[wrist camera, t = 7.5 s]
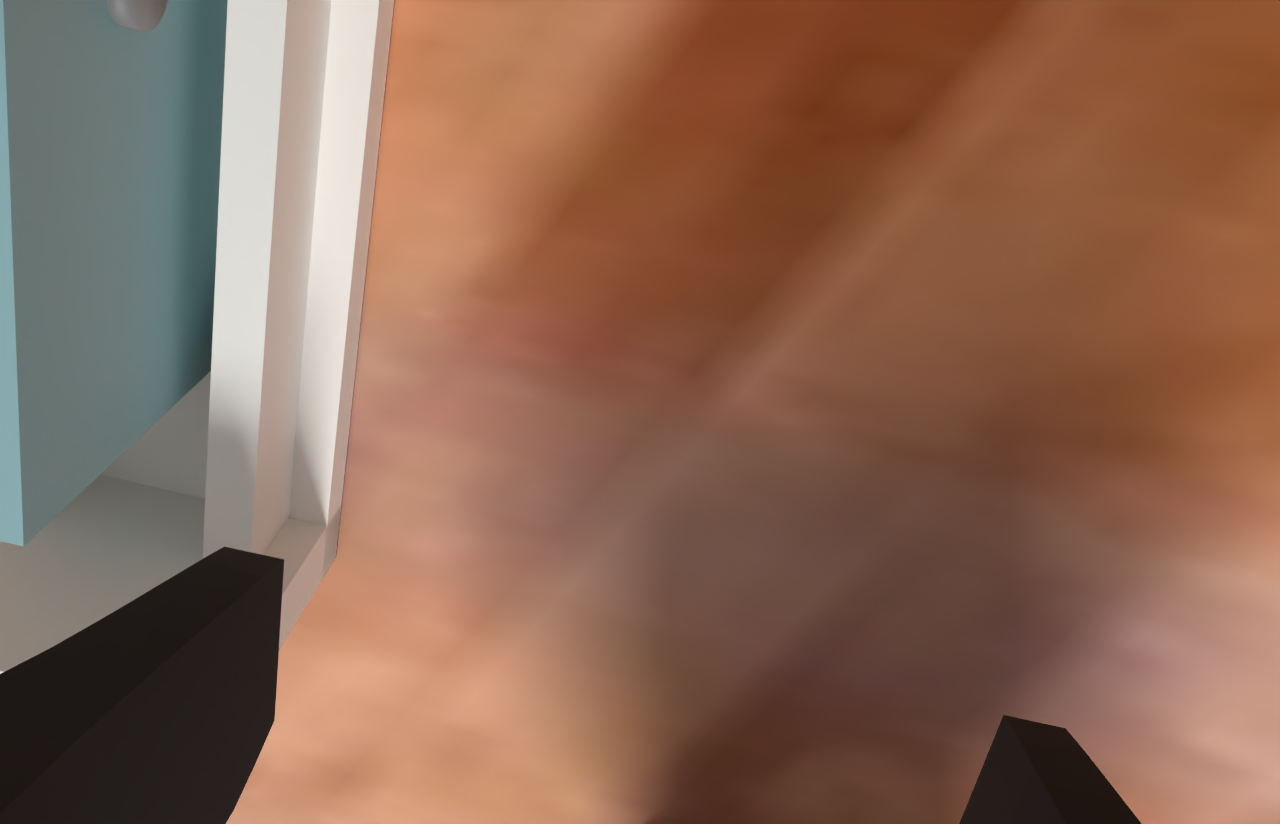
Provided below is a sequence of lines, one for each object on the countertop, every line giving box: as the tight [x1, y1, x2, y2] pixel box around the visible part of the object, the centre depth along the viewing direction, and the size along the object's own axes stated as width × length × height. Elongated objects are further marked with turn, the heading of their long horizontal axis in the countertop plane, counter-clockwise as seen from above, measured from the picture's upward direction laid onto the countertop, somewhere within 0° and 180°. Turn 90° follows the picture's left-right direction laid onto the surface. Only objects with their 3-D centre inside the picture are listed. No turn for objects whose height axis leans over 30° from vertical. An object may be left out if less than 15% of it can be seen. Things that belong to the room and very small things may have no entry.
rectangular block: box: [0, 0, 228, 546], centre depth 16 cm, size 8×2×6 cm, turn 169°
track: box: [0, 0, 394, 674], centre depth 17 cm, size 16×6×6 cm, turn 168°
